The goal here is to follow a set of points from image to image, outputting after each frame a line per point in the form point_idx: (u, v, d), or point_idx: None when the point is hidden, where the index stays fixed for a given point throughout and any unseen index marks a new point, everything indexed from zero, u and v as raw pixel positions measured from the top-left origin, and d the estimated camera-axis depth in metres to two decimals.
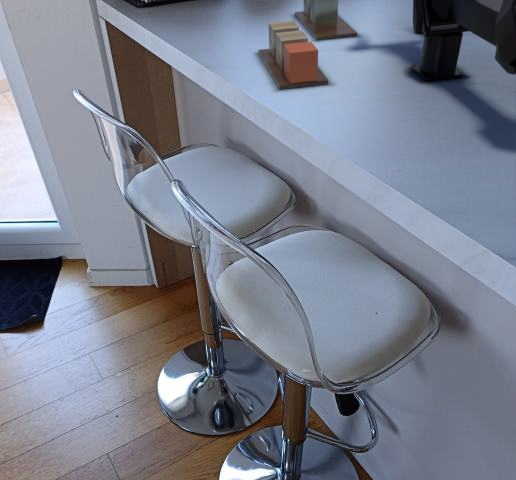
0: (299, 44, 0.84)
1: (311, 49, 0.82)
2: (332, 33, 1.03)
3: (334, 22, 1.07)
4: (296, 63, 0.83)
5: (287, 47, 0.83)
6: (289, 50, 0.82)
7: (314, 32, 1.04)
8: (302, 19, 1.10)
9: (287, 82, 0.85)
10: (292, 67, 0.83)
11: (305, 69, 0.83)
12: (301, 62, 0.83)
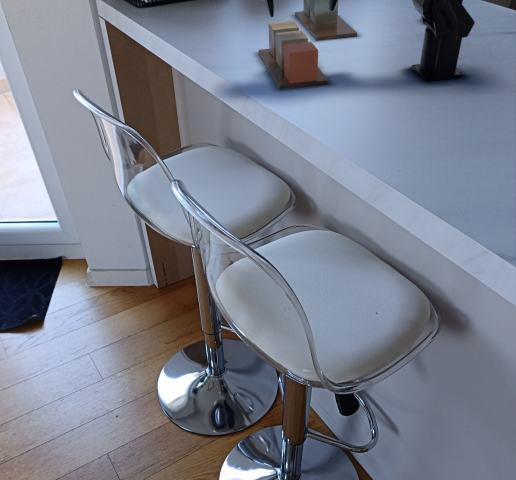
0: (299, 44, 0.84)
1: (311, 49, 0.82)
2: (332, 33, 1.03)
3: (334, 22, 1.07)
4: (296, 63, 0.83)
5: (287, 47, 0.83)
6: (289, 50, 0.82)
7: (314, 32, 1.04)
8: (302, 19, 1.10)
9: (287, 82, 0.85)
10: (292, 67, 0.83)
11: (305, 69, 0.83)
12: (301, 62, 0.83)
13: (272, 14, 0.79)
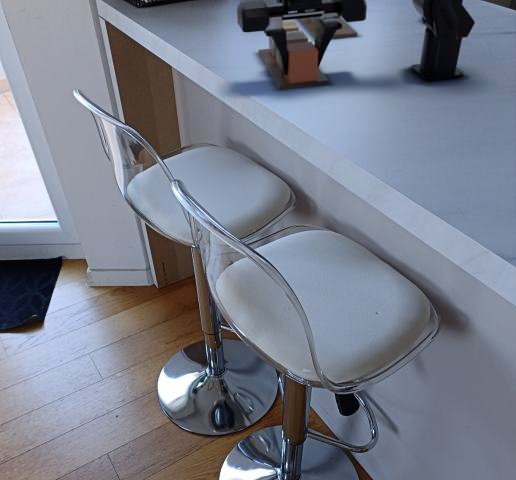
0: (299, 44, 0.84)
1: (311, 49, 0.82)
2: None
3: None
4: (296, 63, 0.83)
5: (287, 47, 0.83)
6: (289, 50, 0.82)
7: (314, 32, 1.04)
8: (302, 19, 1.10)
9: (287, 82, 0.85)
10: (292, 67, 0.83)
11: (305, 69, 0.83)
12: (301, 62, 0.83)
13: (286, 73, 0.85)
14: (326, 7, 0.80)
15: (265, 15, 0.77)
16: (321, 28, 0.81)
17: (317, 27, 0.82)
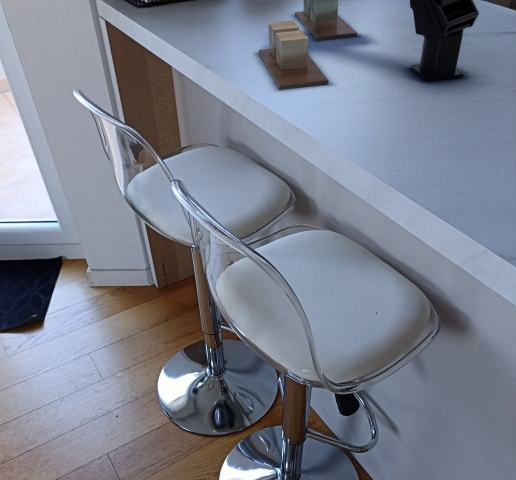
0: None
1: None
2: (332, 33, 1.03)
3: (334, 22, 1.07)
4: None
5: None
6: None
7: (314, 32, 1.04)
8: (302, 19, 1.10)
9: (287, 82, 0.85)
10: None
11: None
12: None
13: None
14: None
15: None
16: None
17: None
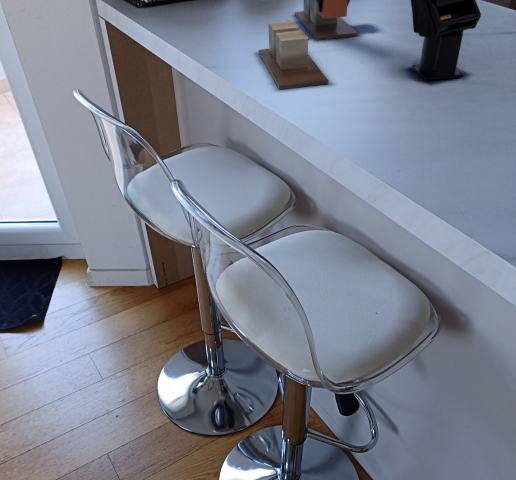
0: None
1: None
2: (332, 33, 1.03)
3: (334, 22, 1.07)
4: (329, 0, 0.99)
5: None
6: None
7: (314, 32, 1.04)
8: (302, 19, 1.10)
9: (287, 82, 0.85)
10: (326, 4, 1.00)
11: (337, 5, 1.00)
12: None
13: (321, 10, 1.01)
14: None
15: None
16: None
17: None
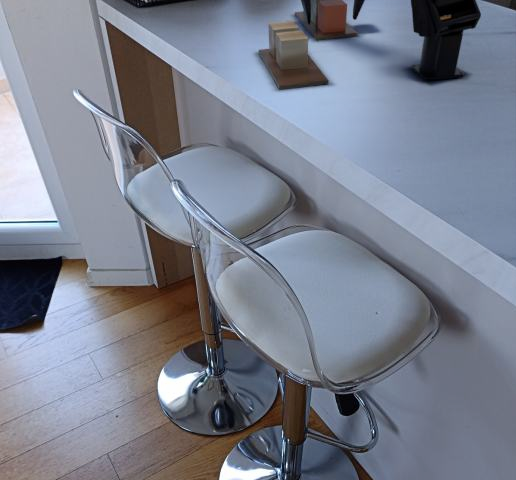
0: (331, 0, 1.02)
1: (341, 4, 1.00)
2: (332, 33, 1.03)
3: None
4: (329, 15, 1.01)
5: (321, 3, 1.02)
6: (323, 5, 1.01)
7: (314, 32, 1.04)
8: (302, 19, 1.10)
9: (287, 82, 0.85)
10: (326, 19, 1.01)
11: (336, 20, 1.02)
12: (333, 15, 1.01)
13: (309, 22, 1.03)
14: None
15: None
16: None
17: None
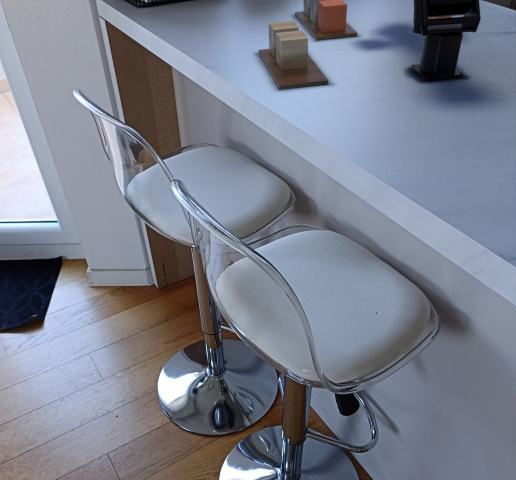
0: (331, 0, 1.02)
1: (341, 4, 1.00)
2: (332, 33, 1.03)
3: None
4: (329, 15, 1.01)
5: (321, 3, 1.02)
6: (323, 5, 1.01)
7: (314, 32, 1.04)
8: (302, 19, 1.10)
9: (287, 82, 0.85)
10: (326, 19, 1.01)
11: (336, 20, 1.02)
12: (333, 15, 1.01)
13: None
14: None
15: None
16: None
17: None
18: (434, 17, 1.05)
